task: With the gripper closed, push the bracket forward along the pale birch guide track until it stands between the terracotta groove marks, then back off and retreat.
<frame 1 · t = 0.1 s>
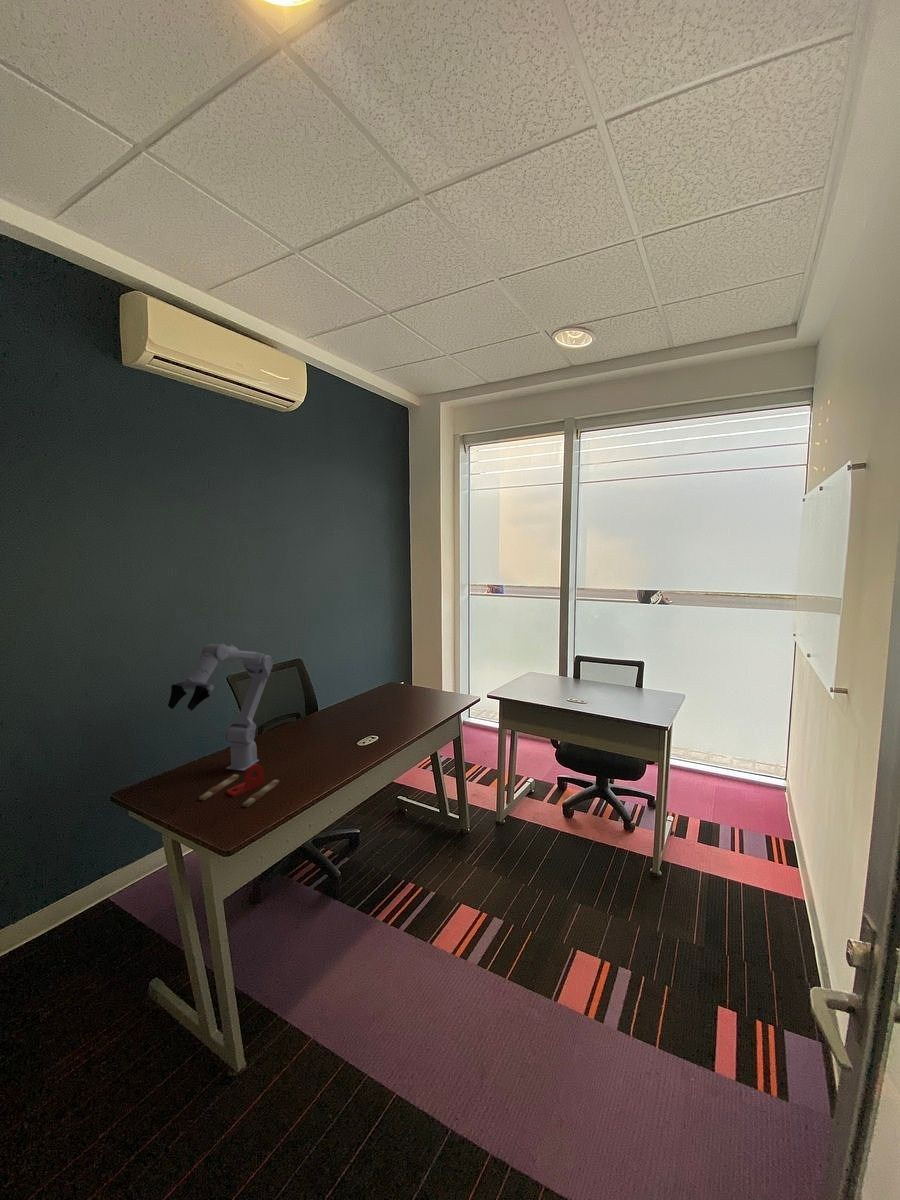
hand: (179, 708, 158), 32 cm above the table, tool tilted 50°, fingers open, 7 cm apart
guide track: (240, 791, 168), on the table
bracket: (245, 788, 170), on the table
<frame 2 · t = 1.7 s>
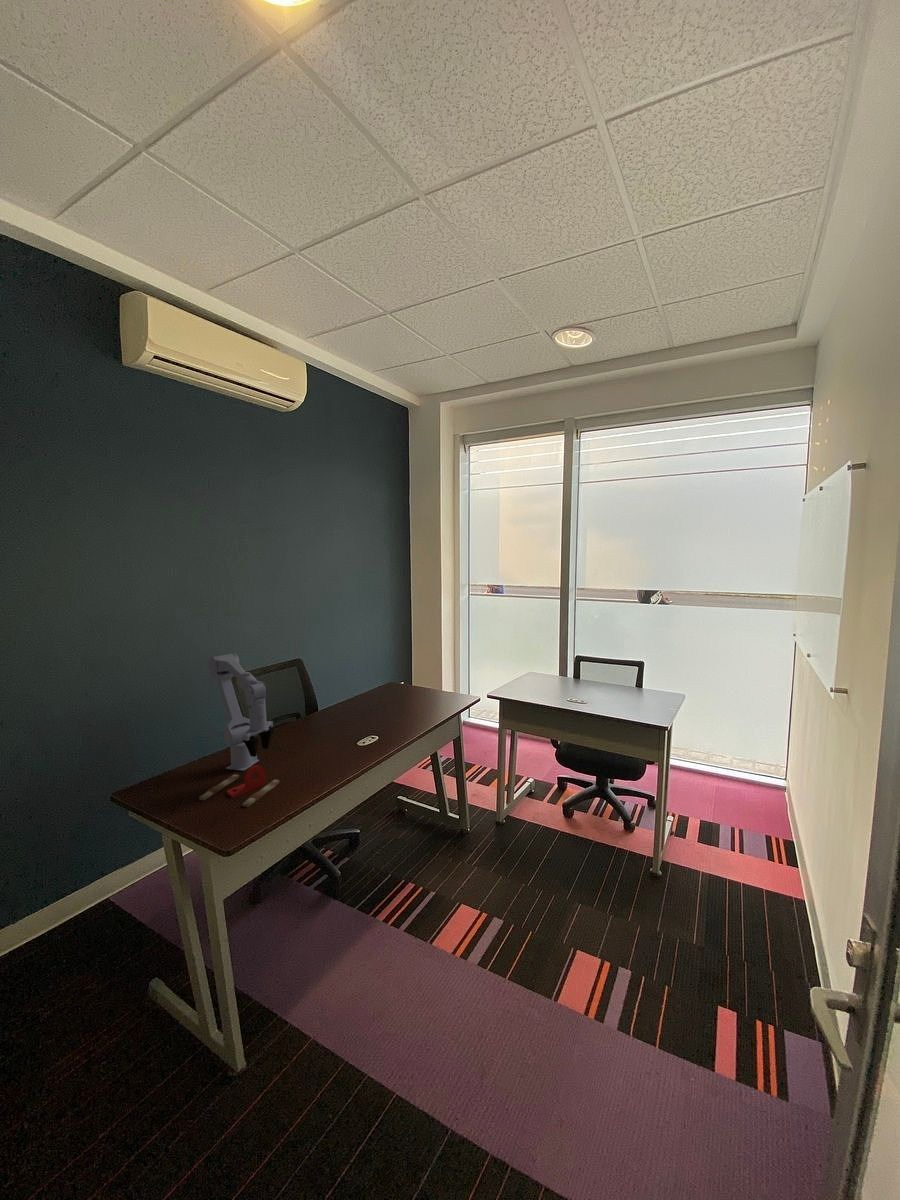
hand: (259, 752, 178), 9 cm above the table, tool pointing down, fingers open, 6 cm apart
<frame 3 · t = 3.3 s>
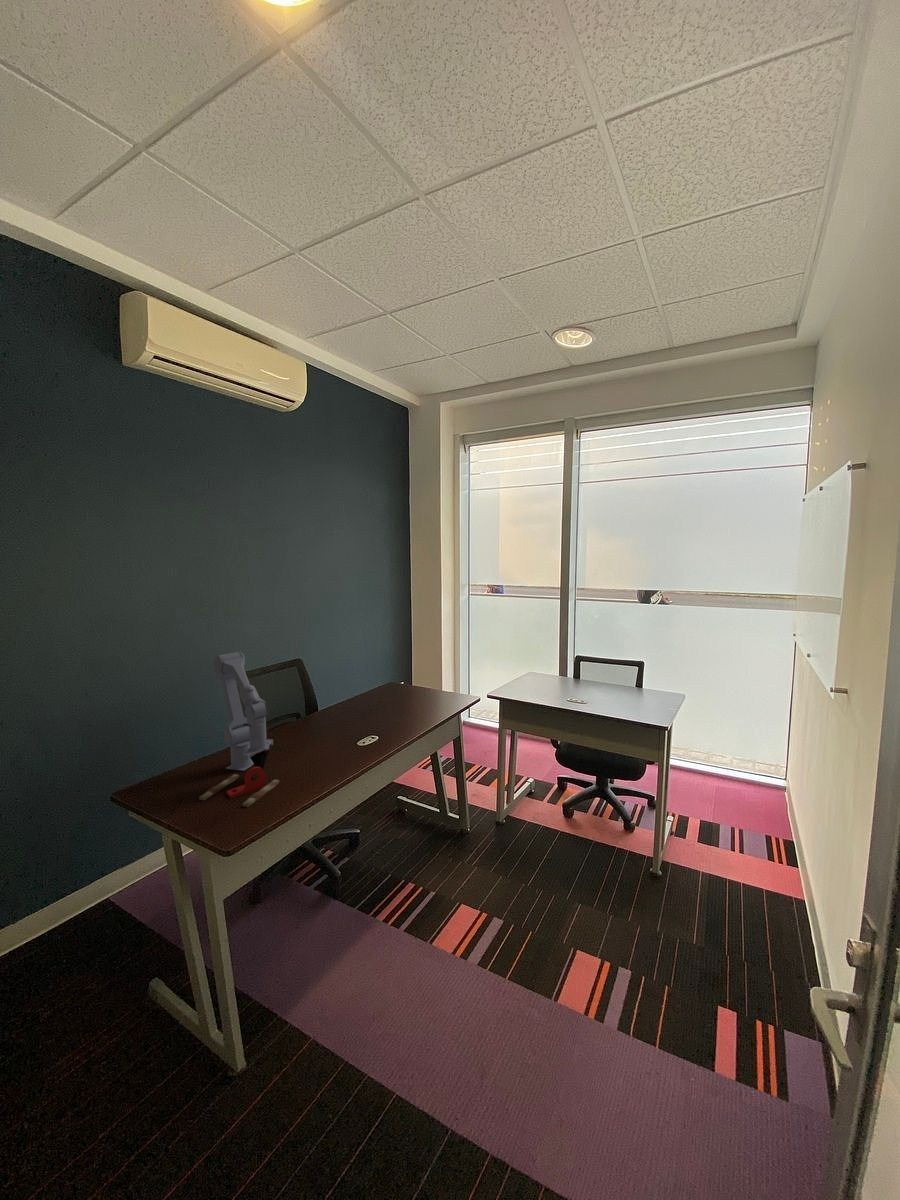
hand: (259, 770, 178), 2 cm above the table, tool pointing down, fingers closed
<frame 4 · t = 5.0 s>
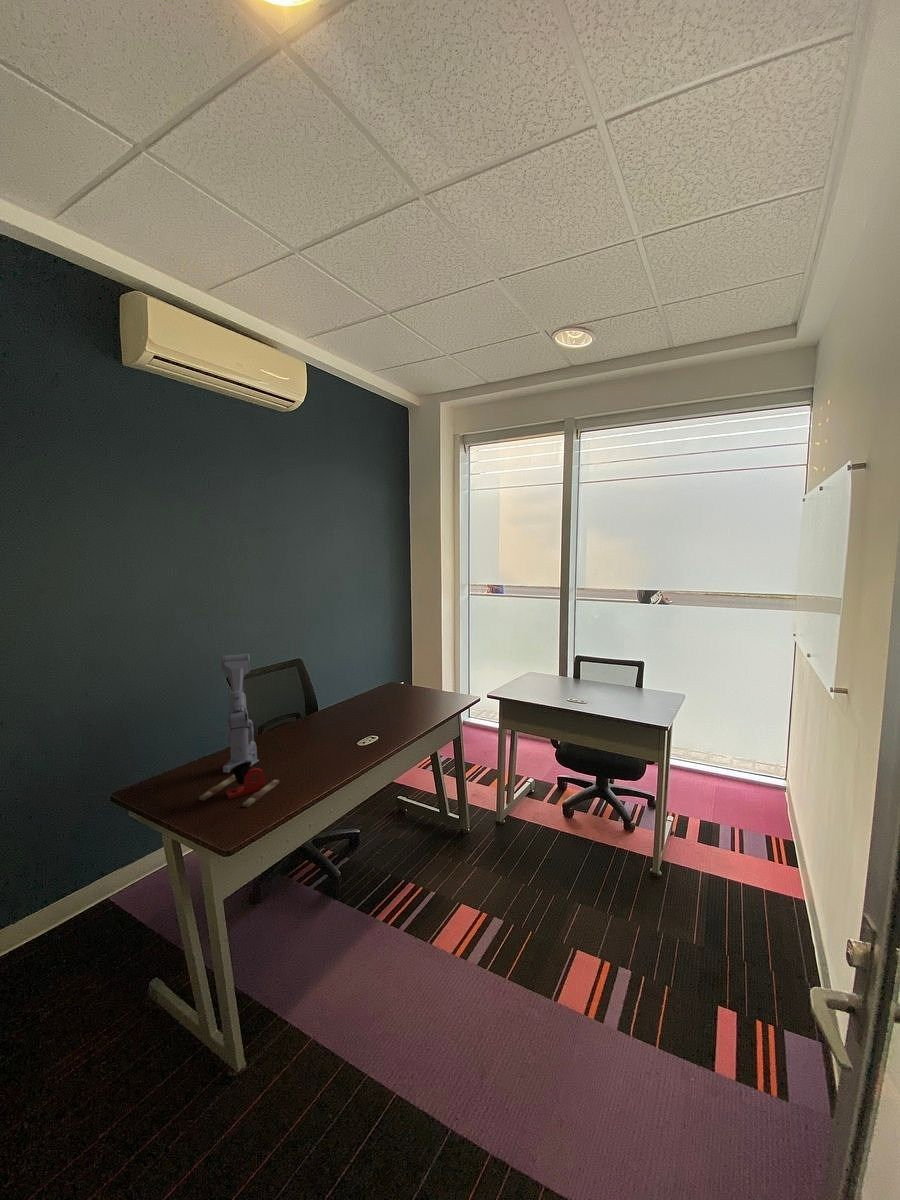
hand: (241, 783, 169), 2 cm above the table, tool pointing down, fingers closed
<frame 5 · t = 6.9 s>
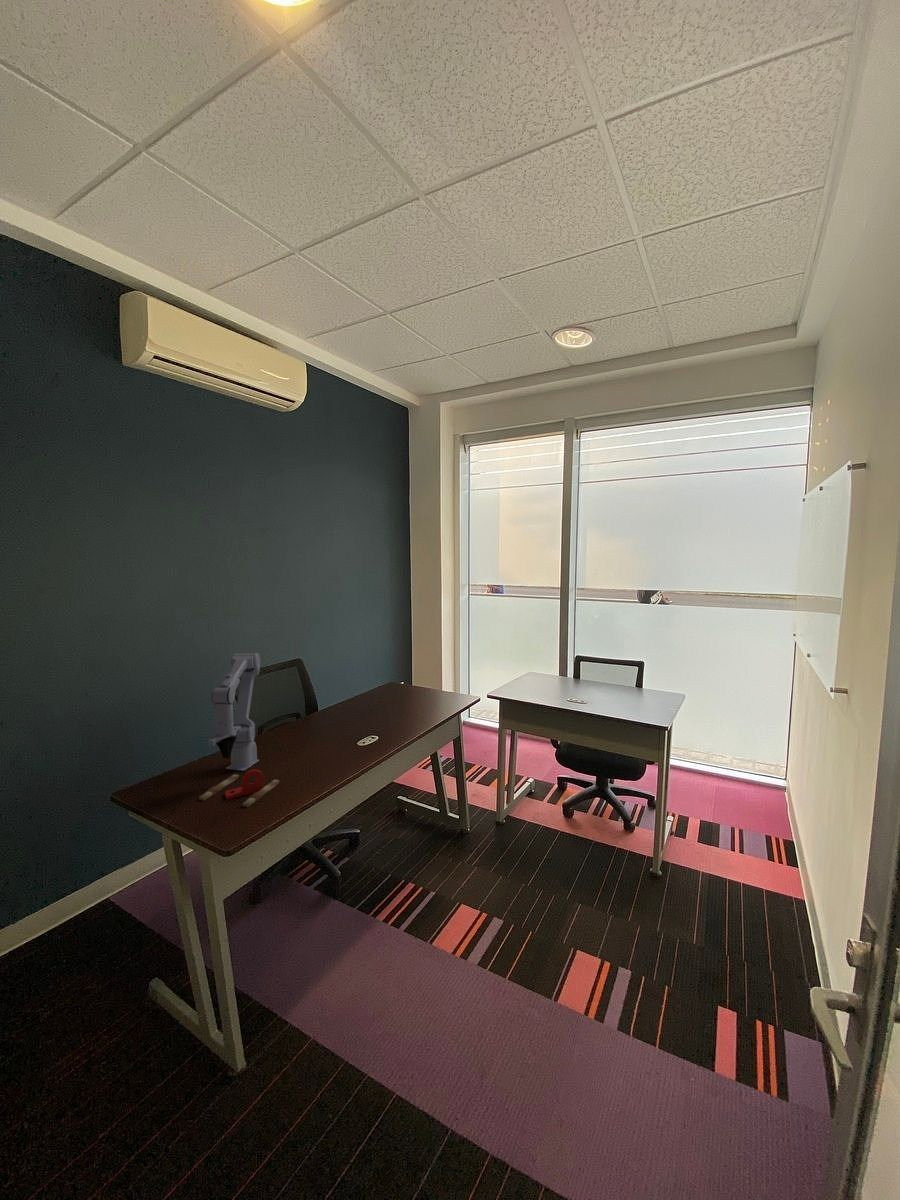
hand: (226, 757, 173), 9 cm above the table, tool pointing down, fingers closed
bracket: (244, 792, 168), on the table, touching guide track
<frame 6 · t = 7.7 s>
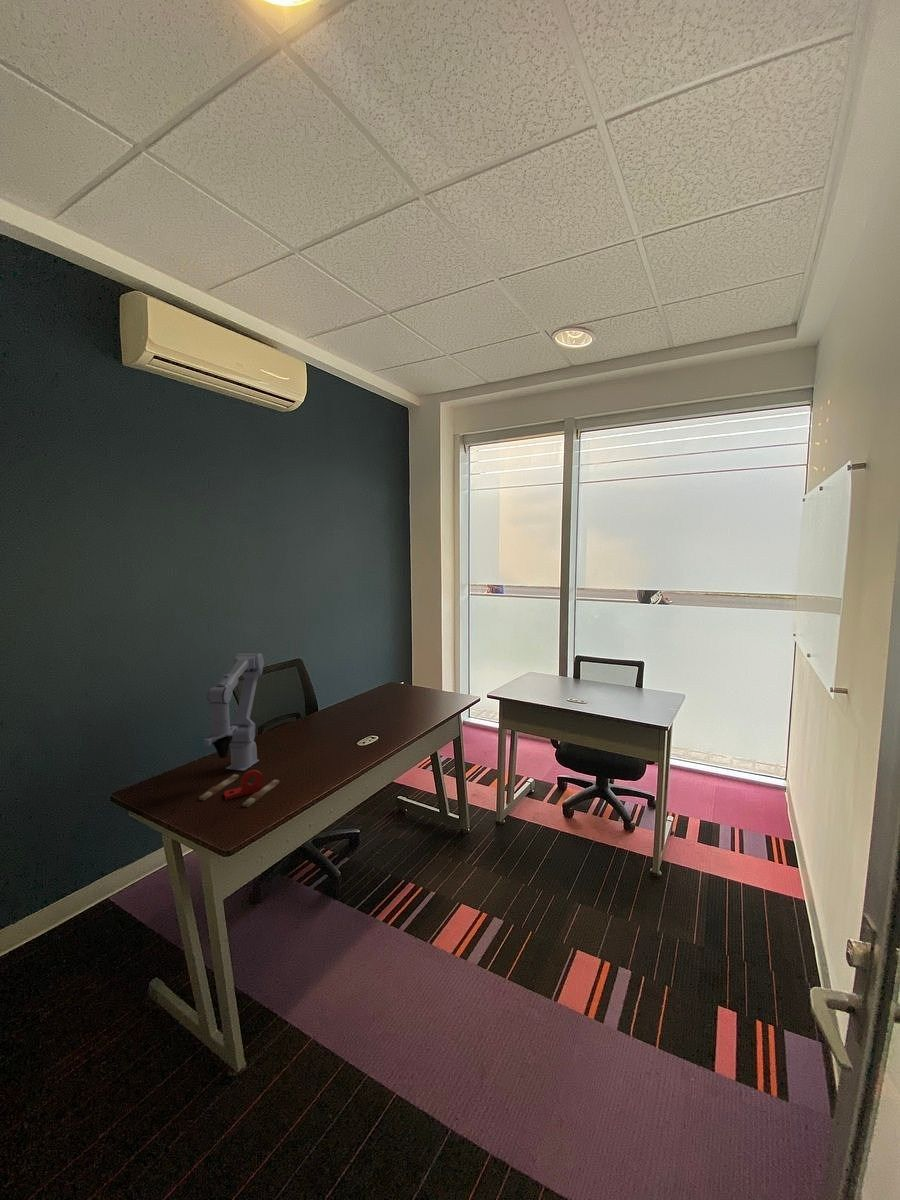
hand: (222, 757, 174), 9 cm above the table, tool pointing down, fingers closed
bracket: (243, 793, 167), on the table
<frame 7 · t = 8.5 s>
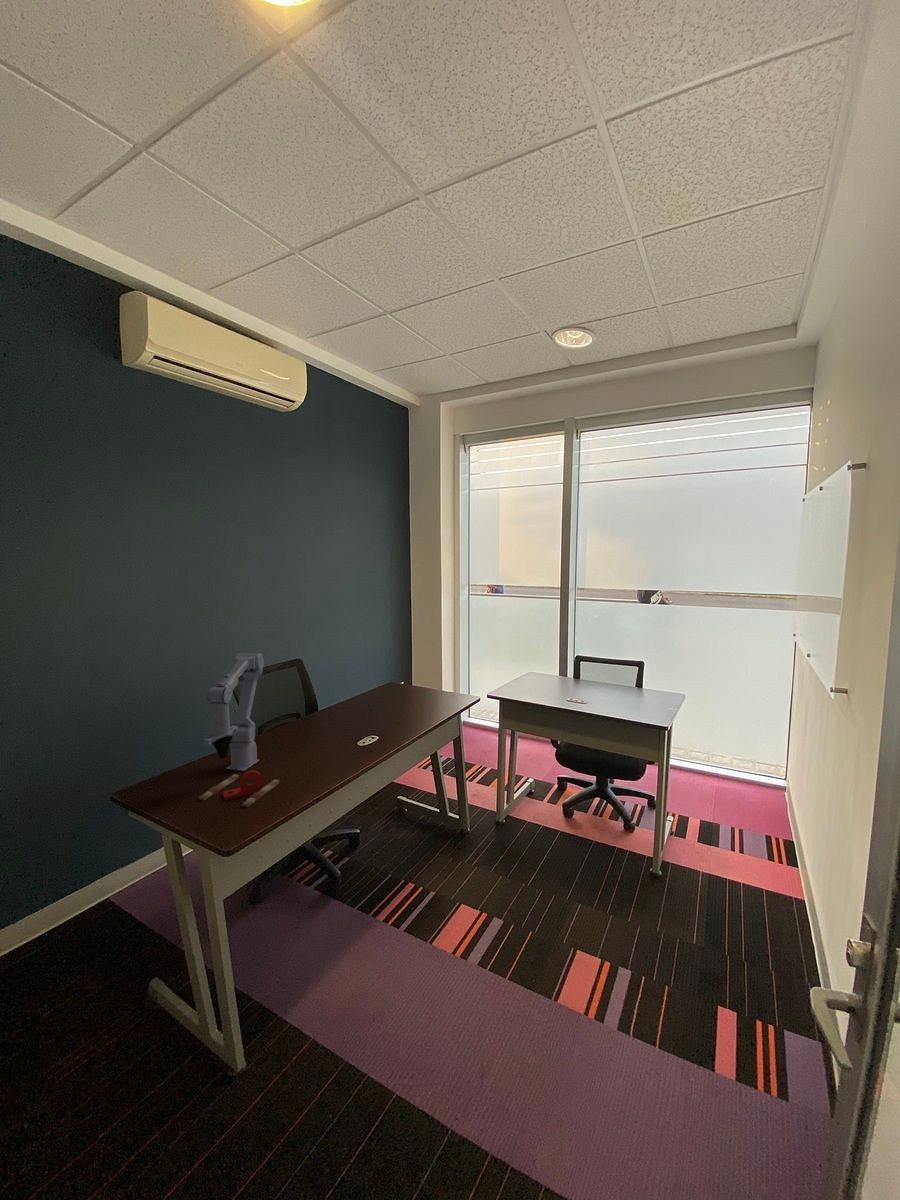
hand: (222, 757, 174), 9 cm above the table, tool pointing down, fingers closed
at the end: bracket 3.1 cm from the target spot, on the table; bracket tilted 0°; bracket moved 3.7 cm from its start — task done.
